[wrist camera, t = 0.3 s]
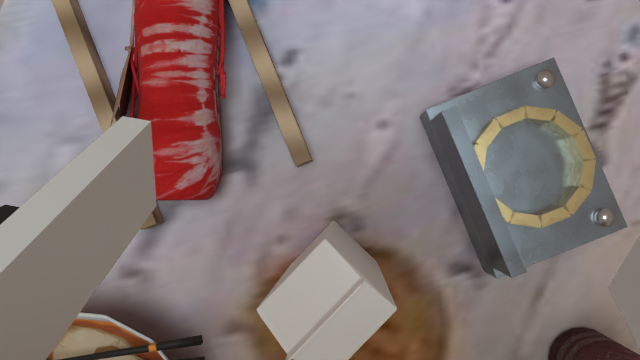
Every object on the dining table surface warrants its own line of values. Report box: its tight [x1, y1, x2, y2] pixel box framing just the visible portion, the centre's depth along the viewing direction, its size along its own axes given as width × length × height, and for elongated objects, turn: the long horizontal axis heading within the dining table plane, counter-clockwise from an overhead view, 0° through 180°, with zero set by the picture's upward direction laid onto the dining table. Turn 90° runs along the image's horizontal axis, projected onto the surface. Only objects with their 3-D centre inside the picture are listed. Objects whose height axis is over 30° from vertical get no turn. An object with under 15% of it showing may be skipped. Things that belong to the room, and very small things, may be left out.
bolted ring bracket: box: [420, 58, 627, 278], centre depth 42 cm, size 16×12×9 cm
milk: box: [257, 220, 397, 360], centre depth 37 cm, size 6×6×22 cm
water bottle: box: [110, 0, 226, 200], centre depth 45 cm, size 12×8×25 cm
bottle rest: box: [52, 0, 313, 230], centre depth 48 cm, size 26×18×2 cm
